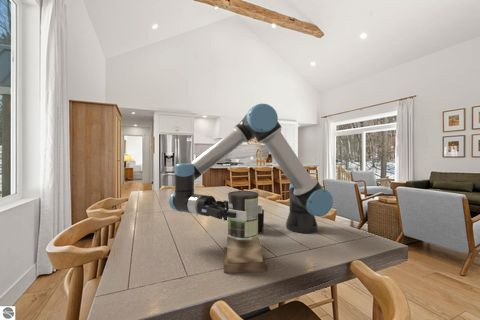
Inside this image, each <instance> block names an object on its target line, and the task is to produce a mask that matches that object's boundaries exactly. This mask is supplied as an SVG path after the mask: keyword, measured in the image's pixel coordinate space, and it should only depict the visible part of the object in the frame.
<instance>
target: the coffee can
mask: <svg viewBox="0 0 480 320" xmlns="http://www.w3.org/2000/svg"><path fill="white" fill-rule="evenodd" d="M227 196H228V198H227V199H228V200H227V201H228V209H232V210H238V211H245V212H247V221H242V220H236V219H231V218H228V217H227V224H228V225H227V236H229V237H230V238H232V239H236V240H251V239H254V238H256V237H257V236H258V237H259V233H258V205H259V193H258V192H257V191H252V190H240V191H239V190H234V191H229V192H228V193H227Z"/></svg>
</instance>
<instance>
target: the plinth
mask: <svg viewBox="0 0 480 320" xmlns="http://www.w3.org/2000/svg"><path fill="white" fill-rule="evenodd" d="M226 237H227V239H226V244H227V246H225V247H224V250H223V251H224V253H223V254H224V256H223V273H225V274H227V273H228V274H229V273H256V272H257V273H258V272H259V273H261V272H267V261H266V259H265V256H264V254H263V246H262V243H261V241H260V238H259V235H258V236H257V237H256V238H254V239H251V240H236V239H232V238H230V237H229V236H228V235H227V236H226Z"/></svg>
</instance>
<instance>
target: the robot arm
mask: <svg viewBox="0 0 480 320" xmlns="http://www.w3.org/2000/svg"><path fill="white" fill-rule="evenodd" d="M278 117H279V116H278V113H277V110H276V109H275V108H274V107H273V106H271V105H270V104H268V103H257V104H256V105H253V106H252V107H251V108H250V109H249V110H247V113H246V114H245V116H244V117H242V119H241V120H240V121H239V122H238V123H237V124H235V126H234V127H233V128H234V129H232V130H231V131H230V132H229V133H228V134H226V135H225V136H224V137H223V138H221V139H220V140H218V141H217V142H216V143H214V144H213V145H212V146H211V147H209V148H208V149H206V151H204V152H203V153H201V154H200V155H199V156H197V158H195V159H194V160H192V161H191V162H190V163H176V164H175V166H174V192H173V193H172V194H171V195H170V197H169V199H168V204H169V207H170V209H172V210H174V211H177V212H180V213H181V212H183V213H190V214H194V215H195V216H205V217H212V218H215V219H219V220H223V221H228V218H231V219H236V220H242V221H247V212H245V211H238V210H232V209H228V200H225V199H224V200H223V201H222V200H216V198H215V197H214V196H213V195H207V194H206V195H205V194H199V193H195V181H196V180H197V179H199V178H200V177H202V175H203V174H205V173H206V172H207V171H209V170H210V169H212V167H214V166H215V165H216V164H218V163H219V162H220V161H221V160H223V159H224V158H226V157H227V156H228V155H229V154H231V153H232V152H233V151H234V150H236V149H237V148H238V147H239V146H241V145H242V144H243V143H248V142H249V141H251V140H252V139H254V138H255V139H256V141H257V143H259V144H262V145H264V147H265V148H266V150H267V151H268V152H269V154H270V155H271V156H272V158H273V160H274V161H275V162H276V164H277V165H278V167H279V168H280V170H281V172H282V173H283V174H284V175H285V177H286V178H287V181H288V182H289V188H288V191H289V199H288V201H289V212H288V216H287V219H286V223H285V228H286V229H287V230H288V231H291V232H294V233H301V234H312V233H315V232H317V231H318V223H317V219H316V217H323V216H325V215H328V213H330V211H332V208H333V204H334V197H333V195H332V193H331V192H330V191H328V190H327V189H325V188H324V187H322V185H321V183H320V182H319V180H318V179H316V178H312V177H311V175H310V173H309V172H308V171H307V169H306V168H305V166H304V165H303V163H302V161H301V160H300V159H299V157H298V156H297V154H296V153H295V151H294V150H293V148H292V147H291V145H290V143H289V141H287V140H286V138H285V137H284V135H283V133H282V128H283V127H282V126H281V124H280V122H279V121H278V120H279V118H278ZM262 209H263V205H261V204H258V213H260V214H262Z"/></svg>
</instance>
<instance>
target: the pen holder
mask: <svg viewBox="0 0 480 320" xmlns="http://www.w3.org/2000/svg"><path fill="white" fill-rule="evenodd" d="M264 220H265V210H264V209H263V208H262V214H260V213H258V234H261V233H262V232H264Z"/></svg>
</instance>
